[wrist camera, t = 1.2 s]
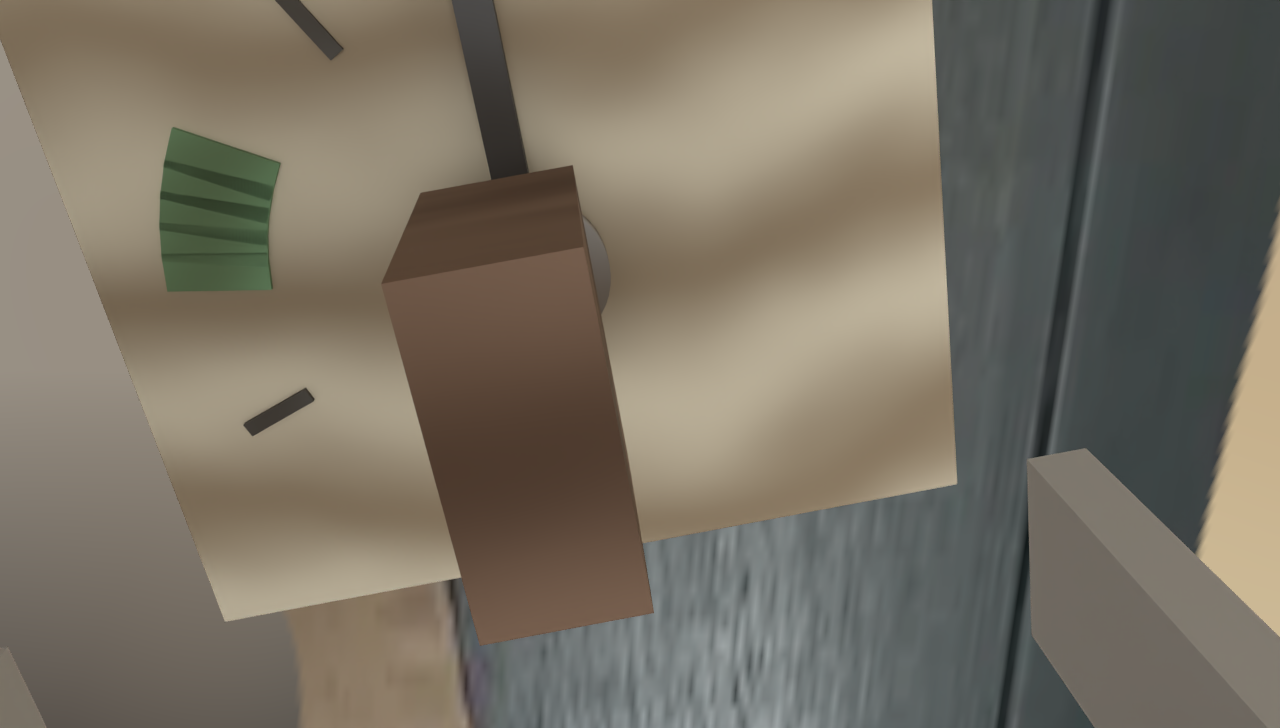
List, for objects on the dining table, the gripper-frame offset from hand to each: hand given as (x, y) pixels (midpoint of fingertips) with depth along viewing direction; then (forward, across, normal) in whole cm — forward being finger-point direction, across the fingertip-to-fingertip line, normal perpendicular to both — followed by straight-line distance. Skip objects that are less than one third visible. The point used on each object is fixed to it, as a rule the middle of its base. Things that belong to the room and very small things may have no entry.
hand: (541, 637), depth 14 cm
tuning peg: (+15, 0, +3) cm, 15 cm away
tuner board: (+18, 0, 0) cm, 18 cm away
